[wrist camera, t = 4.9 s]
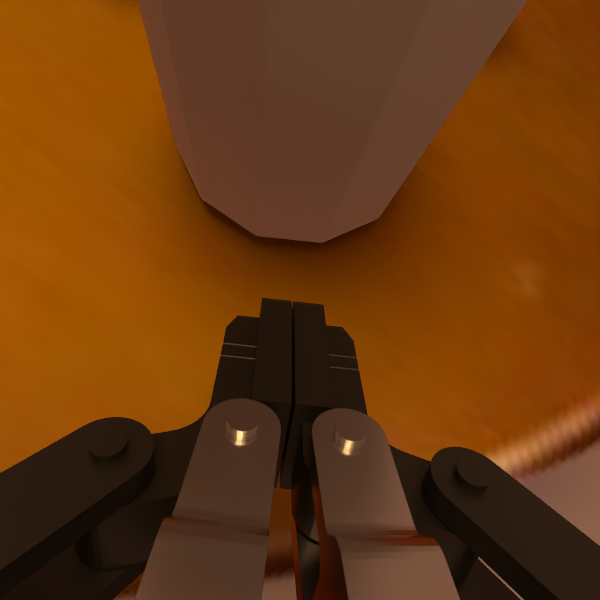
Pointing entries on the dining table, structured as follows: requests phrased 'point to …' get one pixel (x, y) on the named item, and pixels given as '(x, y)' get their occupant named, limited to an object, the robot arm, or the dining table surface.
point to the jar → (313, 99)
